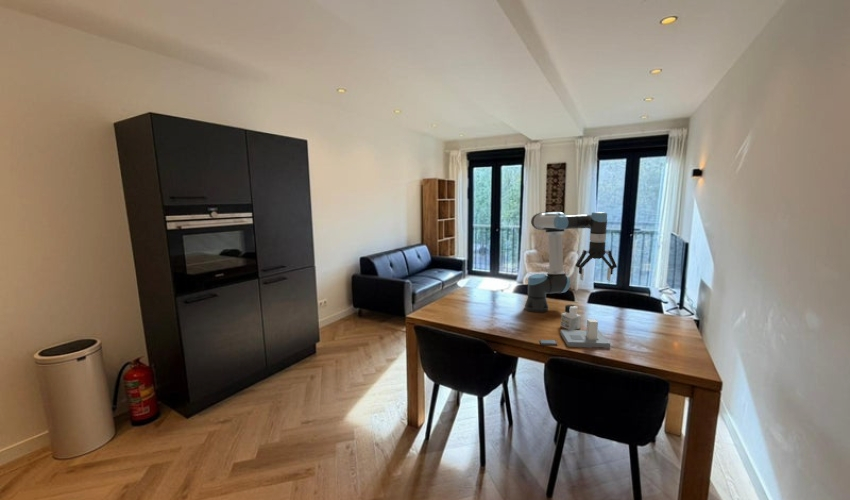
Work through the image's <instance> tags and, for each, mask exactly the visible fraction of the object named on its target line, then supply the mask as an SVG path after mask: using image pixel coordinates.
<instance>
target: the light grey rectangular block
mask: <svg viewBox="0 0 850 500" xmlns="http://www.w3.org/2000/svg"><path fill="white" fill-rule="evenodd" d="M598 327H599V321H597V320H596V319H595V318H594V319H593V318H587V319H586V338H587V340H597V331H599V330H598Z"/></svg>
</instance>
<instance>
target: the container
mask: <svg viewBox="0 0 850 500" xmlns="http://www.w3.org/2000/svg"><path fill="white" fill-rule="evenodd" d="M578 307H579V306H577V305H575V304H567V305H565V307H564V312H562V313H561V314H560V326H561V327H562V328H565V330H580V329H581V328H582V315H580V314H578V312H579V311H578Z"/></svg>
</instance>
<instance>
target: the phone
mask: <svg viewBox="0 0 850 500" xmlns="http://www.w3.org/2000/svg"><path fill="white" fill-rule="evenodd" d="M539 343H541V344H540V346H558V343H557V340H555V339H539Z"/></svg>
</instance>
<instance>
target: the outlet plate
mask: <svg viewBox="0 0 850 500" xmlns="http://www.w3.org/2000/svg"><path fill="white" fill-rule="evenodd" d="M586 330H587V329H586ZM586 330H582V329H581V330H580V329H575V330H568V329H560V335H561V337H562V339H563V341H564V343H565V345H566V346H567V347H570V348H571V347H573V348H592V347H604V348H603V349H611V342H610V341H609V340H608V339H607V338H606V336H605V335H603V333H602V332H601V331H600V330H597V340H587V338H586Z"/></svg>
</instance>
